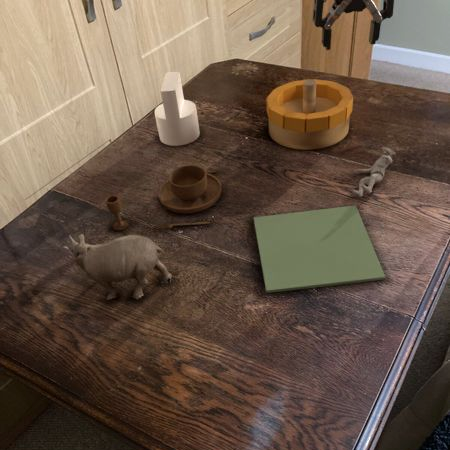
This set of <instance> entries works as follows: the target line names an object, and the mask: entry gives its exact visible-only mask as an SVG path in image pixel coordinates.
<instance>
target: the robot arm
mask: <svg viewBox="0 0 450 450" xmlns="http://www.w3.org/2000/svg"><path fill="white" fill-rule="evenodd" d="M327 1H328V0H313V7H312V8H313V10H312V22H313V24H314V26H315V27H316V28H320V29H321V28H322V29H321V44H322V46H323V48H324V49H325V50H326V51H330V50H331V48H332V33H333V32H332V31H333V29H332V26H333V25H334V23H336V21H337V20H339V18H340V17H341V16H342V14H343V13H345V14H351V13H353V12H358V13H359V12H360V13H361V12H363V11H364V10H366V9H367V11H368V13H369V14H370V16H371V17H372V19H371V20H370V26H369V33H368V34H369V35H368V42H369V44H370V45H376V43H377V41H379V39H380V34H381V27H382V23H383V21H384V20H387V19H391V18H392V17H394V6H395V0H382V9H381V10H378V7H377V6H376V4H375V3H374V1H373V0H333V2H332V3H331V5H330V6H329V8H328V11H327V13H326V14H325V16H324V17H323V13H324V4H325V3H327Z"/></svg>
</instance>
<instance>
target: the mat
mask: <svg viewBox="0 0 450 450" xmlns="http://www.w3.org/2000/svg"><path fill="white" fill-rule="evenodd" d="M253 224H254V231H255V236H256V241H257V248H258V253H259V259H260V266H261V271H262V276H263V281H264V288H265V293H266V294H271V293H281V292H289V291H298V290H305V289H307V290H308V289H317V288H323V287H332V286H341V285H349V284H350V285H351V284H358V283H368V282H376V281H384V280H386V275H385V272H384V270H383V267H382V265H381V263H380V261H379V258H378V256H377V253H376V251H375V249H374V245H373V244H372V242H371V238H370V236H369V234H368V232H367V229H366V227H365V225H364V222H363V220H362V216H361V214H360V212H359V210H358V208H357V206H356V205H354V204H353V205H347V206H340V207H331V208H322V209H313V210H306V211H297V212H288V213H279V214H272V215H261V216H254V217H253Z"/></svg>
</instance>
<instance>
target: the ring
mask: <svg viewBox="0 0 450 450" xmlns="http://www.w3.org/2000/svg"><path fill="white" fill-rule="evenodd" d="M306 80H315V81H316V97H323V98H328V99H330V100H332V101H334V102H336V103H338V105H337V106H336V107H333V108H331V109H329V110H327V111H324V112H318V113H310V114H304V113H297V112H290V111H288V110H286V109H284V108H283V107H281V106H282V104H283V103H285V102H288V101H290V100H292V99H295V98H301V97H303V82H304V81H306ZM353 105H354V96H353V93H352V92H351V90H350V88H348V87H347V86H344V85H342V84H341V83H339V82H336V81H331V80H325V79H316V78H313V79H312V78H309V79H308V78H307V79H301V80H293V81H289V82H288V83H284V84H282V85H280V86H277V87H275V88H274V89H273V90H272V91H271V92H270V93H269V94H268V95H267V97H266V113H267V117H269V120H270V122H272V123H274V124H275V125H277V126H279V127H280V128H282V129H284V128H285V130H291V131H298V132H305V131H306V132H314V131H322V130H327V128H328V129H331V128H333V127H335V126H337V125H340V124H342V123H344V122H345V121H346V120H347V119H348V117H349V116H350V117H351V114H352V112H353V107H354V106H353ZM269 120H268V121H269Z"/></svg>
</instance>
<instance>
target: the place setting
mask: <svg viewBox="0 0 450 450" xmlns="http://www.w3.org/2000/svg"><path fill="white" fill-rule="evenodd" d="M211 173H212V174H211ZM213 173H217V170H205V169H204V168H203V167H202V166H199V165H196V164H195V165H193V164H187V165H182V166H179V167H177V168H175V169H174V170H172V171H171V172H170V173H169V175H168V179H167V180H165V181H164V182H163V183H162V184H161V185H160V187H159V189H158V193H157V195H158V199H159V202H160V204H161V205H162V206H163V207H164V208H165V209H167V210H169V211H171V212H173V213H179V214H194V213H198V212H199V213H200V212H202V211H204V210H205V211H206V210H208V209H209V208H210V207H212V206H213V205H215V204H216V203H217V202H218V200H219V199H220V197H221V195H222V184H221V181H220V180H219V178H218V177H216V176H214V175H213ZM104 202H105V205H106V208H107V211H108V212H109V213H110V214H111V215H114V217H115V218H114V220H115V222H114V223H113V224H112V229H113V230H114V231H117V232H119V231H123V230H126V229H127V228H128V227H129V223H128V221H126V220H123V219H122V217H121V215H120V213H121V211H122V203H121V198H120V196H118V195H116V194H111V195H109V196H107V197H106V198H105V200H104ZM209 224H210V225H211V222H210V221H201V222H200V221H199V222H179V223H165V222H158V221H156V222H155V226H154V227H155V228H160V229H161V228H162V229H172V228H173V227H177V226H179V227H180V226H200V225H201V226H202V225H209Z"/></svg>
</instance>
